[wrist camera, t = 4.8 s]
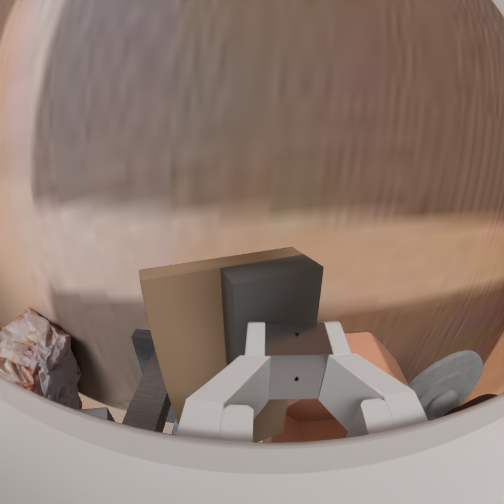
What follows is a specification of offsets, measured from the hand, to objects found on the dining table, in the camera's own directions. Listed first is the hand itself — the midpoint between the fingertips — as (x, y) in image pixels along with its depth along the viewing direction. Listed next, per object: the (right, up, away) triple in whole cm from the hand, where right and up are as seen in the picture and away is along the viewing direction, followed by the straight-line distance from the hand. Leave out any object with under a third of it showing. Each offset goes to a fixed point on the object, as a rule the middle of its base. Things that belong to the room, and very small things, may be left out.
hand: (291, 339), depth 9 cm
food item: (-21, -8, +14) cm, 27 cm away
